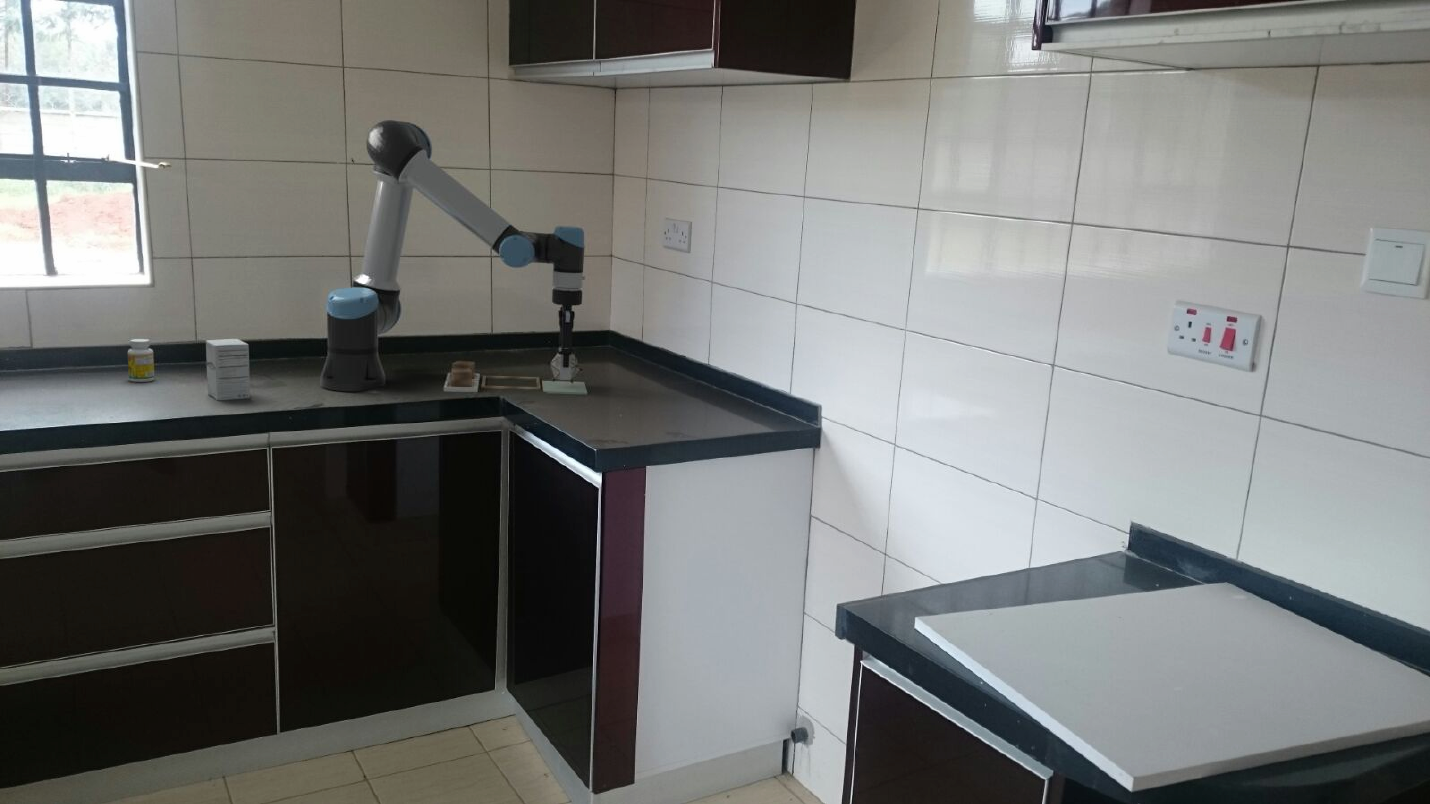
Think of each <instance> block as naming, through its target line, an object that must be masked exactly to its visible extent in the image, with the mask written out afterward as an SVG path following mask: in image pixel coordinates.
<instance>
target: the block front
mask: <svg viewBox="0 0 1430 804" xmlns="http://www.w3.org/2000/svg"><path fill="white" fill-rule="evenodd" d="M450 373H451V387H472V371H471V370H470V369H452V368H451V369H450Z"/></svg>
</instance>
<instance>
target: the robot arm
mask: <svg viewBox="0 0 1430 804" xmlns="http://www.w3.org/2000/svg"><path fill="white" fill-rule="evenodd" d="M365 146H366V151H367V153H368V156H369V157H370V159H371V160H372V162H374V164H373V168H372V169H373V170H372V172H373V173H374V175H375V177H376V178H377V185H376V188H375V189H376V191H375V196H374V202H373V207H372V212H371V217H370V223H369V229H368V235H367V239H366V245H365V250H364V255H363V256H364V257H363V261H362V267H361V272H360V273H359V274H358V275H356V276H355V277H354V278H353V280H352V287H344V288H338V289H335V290H332V291H330V293H329V294H328V296H327V304H326V306H325V307H326V308H325V309H326V319H327V320H326V325H327V329H326V330H327V356H326V359H325V362H324V366H323V369H322V371H321V374H320V387H321V388H323V389H327V390H331V391H335V392H336V391H339V392H367V391H370V390H371V389H372V390H374V389H378V388H382V387H384V386H386V375H385V371H384V369H383V365H382V363H381V360H380V357H379V335H382V334H384V333H387V332H389V331H390V330H392V329H393V328H394V326H395V325H397V323H398V321H399V320H400V318H401V316H402V315H401V313H402V303H401V301H400V293H401V288H402V287H401V285H400V284H399V283H398V282H397V279H398V278H397V276H398V272H399V265H400V261H401V258H402V257H401V256H402V252H403V251H402V250H403V246H404V240H405V235H406V229H407V226H408V225H407V224H408V219H409V214H410V210H411V209H410V207H411V204H412V197H413V194H414V189H415V190H417V191H418V192H419V193H420V194H422V195H423V196H424V197H425V198H427V199H428V200H429V201H430V202H431V203H433V204H434V205H436V207H438V208H439V209H440V210H442V211H443V212H444V213H445V214H447V215H448V216H449V217H450V218H452V219H453V220H454V221H455V222H457V223H458V224H459V225H461V226H462V227H463V228H465V229H466V230H467V231H469V232H470V233H471V234H472V235H474V236H475V237H476V238H477V239H478V240H480V241H481V242H482V243H484V244H485V245H487V247H488V248H490V249H491V250H493V251H494V252H495V253H496V254H497V255H498V256H499V258H500V260H501V261H502V262H503V263H504V265H506V266H507V267H510V268H514V269H515V268H516V269H519V268H520V269H521V268H524V267H527V266H528V265H530V264H531V263H532V264H534V263H535V264H536V263H537V264H547V265H548V264H552V267H553V269H552V284H551V285H552V287H554V288H552V289H551V290H552V292H551V296H552V297H551V302H552V304H554V305H558V306H560V308H559V310H558V313H557V314H558V315H557V316H558V326H559V337H558V338H559V339H558V345H559V347H558V351H559V352H558V354H561V355H560V380H559V381H566V380H571V354H573V329H574V325H575V324H574V322H575V317H576V316H575V315H576V314H575V313H576V312H575V311H574V310H573V306H580V305H582V303H583V291H582V288H583V281H584V280H586V276H585V275H583V274H584V259H585V248H586V247H585V246H586V245H585V232H584V231H585V230H583V228H581V227H578V226H571V225H570V226H569V225H566V226H564V225H558V226H555V227H554V230H553V233H551V232H550V233H544V232H543V233H542V232H533V231H524V230H519V229H518V228H516V227H515V226H513V225H512V224H511V223H510V222H509V221H508V220H506V219H505V218H504V217H503V216H501V215H500V214H499V213H498V212H496V211H495V210H494V209H492V207H490V206H489V205H487V203H485V202H483V200H481V199H480V198H479V197H478V196H476V195H475V194H474V193H473V192H471V191H470V190H469V189H468V188H466V187H465V186H464V185H463V184H462V183H460V182H459V181H458V180H457V179H455V178H454V177H453V176H451V175H450V174H449V173H448V172H446V171H445V170H443V169H442V168H441V167H440V166H439V165H438V164H436V162H434V161H432V160H431V158H432V154H433V145H432V141H431V139H430V137H429V135H428V134H427V132H425V130H424V129H422V128H421V127H420V126H418V125H416V124H415V123H412V122H409V121H402V120H401V121H400V120H394V119H393V120H392V119H386V120H381V121H380V122H378V123H376V124H375V125H374V126H372V127H371V129H370V130H369V131H368V134H367V138H366V145H365Z"/></svg>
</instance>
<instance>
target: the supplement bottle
mask: <svg viewBox="0 0 1430 804" xmlns="http://www.w3.org/2000/svg"><path fill="white" fill-rule="evenodd" d="M150 342H151V341H150V339H145V338H135V339H130V341H129V344H130V345H129V346H130V347H131V348H129V349H128V350H127V367H128V380H129V381H130V382H133V383H147V382H153V381H154V380H155V364H154V363H155V362H154V350H153V349H152V348H150V345H151V344H150Z"/></svg>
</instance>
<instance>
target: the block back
mask: <svg viewBox="0 0 1430 804" xmlns="http://www.w3.org/2000/svg"><path fill="white" fill-rule="evenodd" d="M475 368H476V361H466V360H456V361H455V362H453V363H452V364H451V369H470V370H471V371H472V379H475V374H476V369H475Z"/></svg>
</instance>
